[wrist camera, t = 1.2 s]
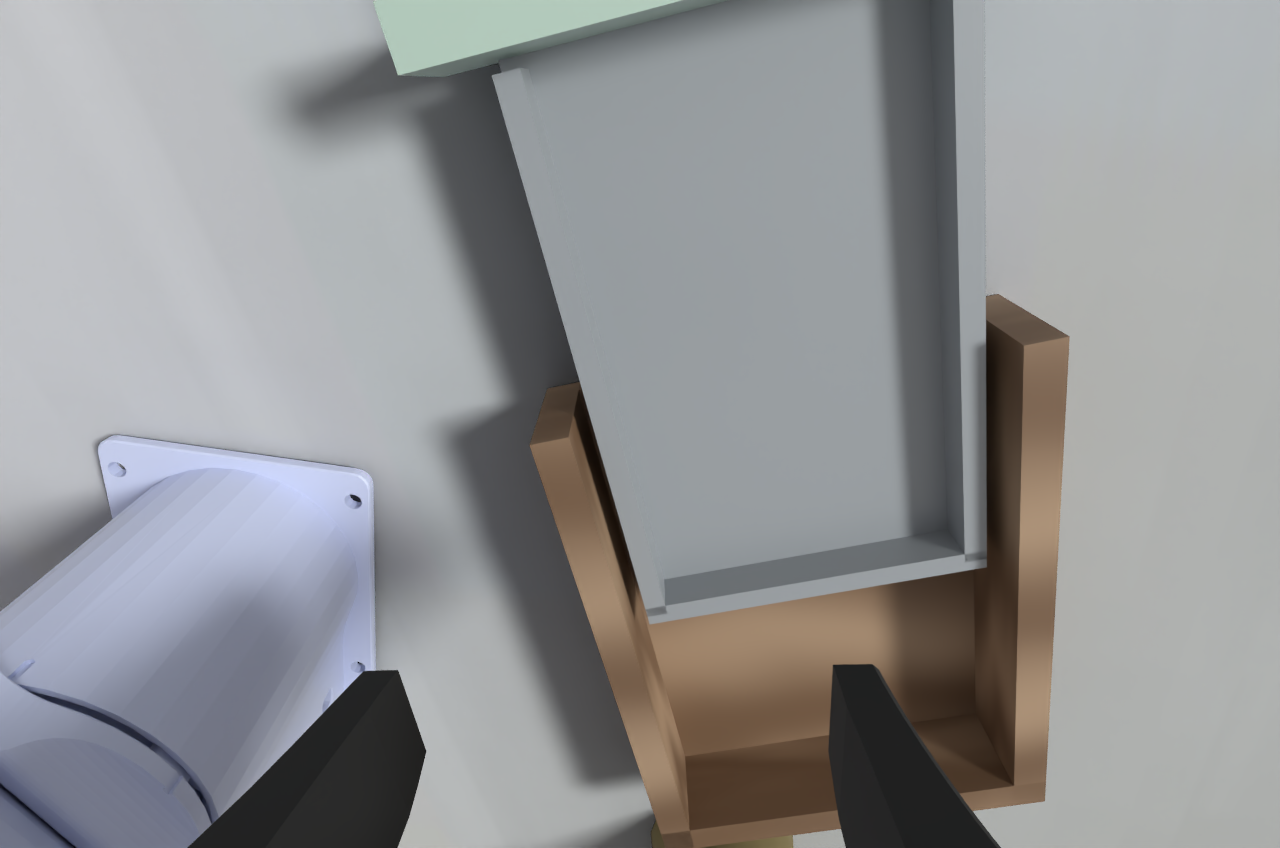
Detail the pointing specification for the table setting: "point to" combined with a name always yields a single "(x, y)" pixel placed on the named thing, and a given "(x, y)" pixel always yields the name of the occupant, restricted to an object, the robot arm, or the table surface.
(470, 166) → the table surface
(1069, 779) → the table surface
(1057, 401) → the caddy
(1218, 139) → the table surface
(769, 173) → the drawer
